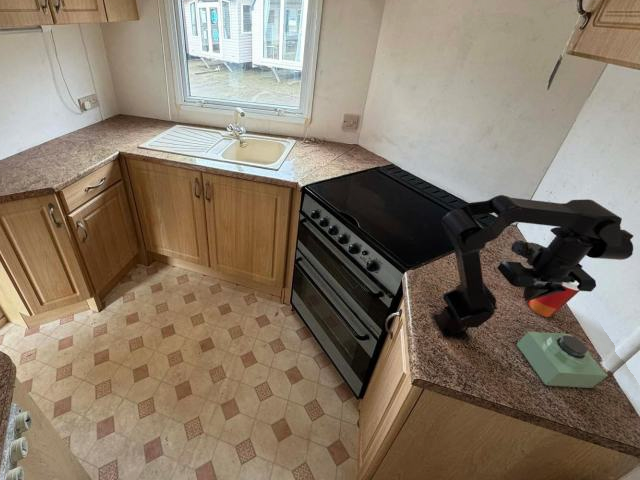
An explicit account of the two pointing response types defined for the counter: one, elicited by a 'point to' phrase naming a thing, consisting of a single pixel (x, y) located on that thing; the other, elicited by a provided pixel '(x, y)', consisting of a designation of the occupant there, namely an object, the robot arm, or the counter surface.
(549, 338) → the green flat block
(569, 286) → the paper cup
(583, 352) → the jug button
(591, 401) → the counter surface
